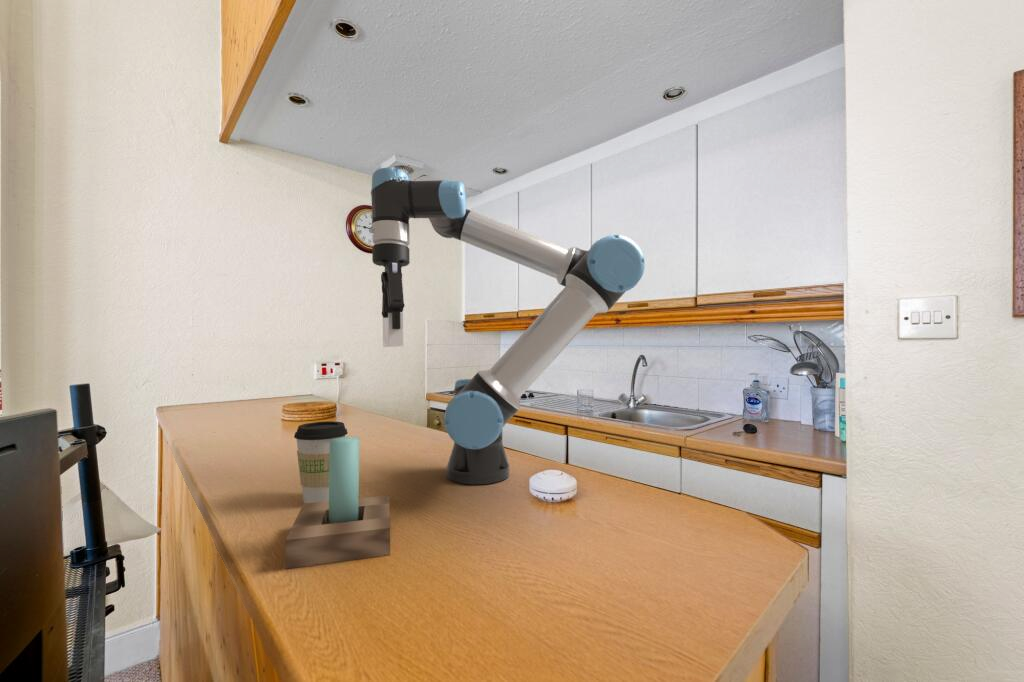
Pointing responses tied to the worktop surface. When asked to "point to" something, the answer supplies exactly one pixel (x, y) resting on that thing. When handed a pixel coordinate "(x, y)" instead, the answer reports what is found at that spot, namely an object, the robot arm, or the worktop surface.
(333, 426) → the coffee cup
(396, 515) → the worktop surface
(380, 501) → the socket block
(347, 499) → the peg
